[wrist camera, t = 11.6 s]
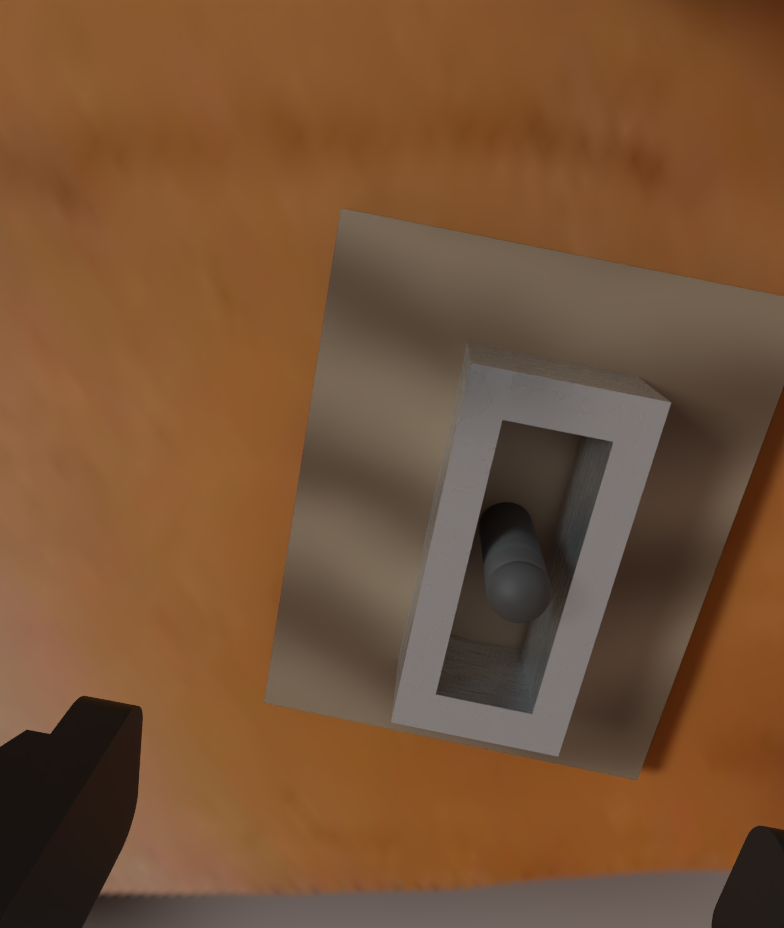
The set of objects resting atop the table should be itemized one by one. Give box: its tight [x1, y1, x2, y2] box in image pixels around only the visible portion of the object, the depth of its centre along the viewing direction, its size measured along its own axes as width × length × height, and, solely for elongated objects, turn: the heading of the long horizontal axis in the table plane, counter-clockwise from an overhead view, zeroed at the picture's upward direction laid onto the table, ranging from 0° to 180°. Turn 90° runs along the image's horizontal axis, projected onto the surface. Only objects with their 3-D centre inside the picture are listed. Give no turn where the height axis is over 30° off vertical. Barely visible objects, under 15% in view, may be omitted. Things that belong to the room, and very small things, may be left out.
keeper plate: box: [264, 208, 784, 780], centre depth 25 cm, size 20×16×8 cm
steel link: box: [391, 343, 671, 756], centre depth 25 cm, size 13×6×4 cm, turn 169°
